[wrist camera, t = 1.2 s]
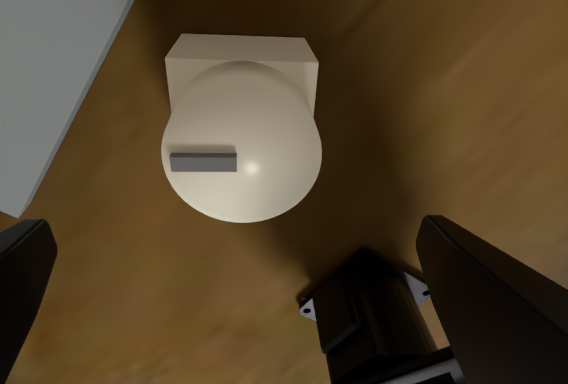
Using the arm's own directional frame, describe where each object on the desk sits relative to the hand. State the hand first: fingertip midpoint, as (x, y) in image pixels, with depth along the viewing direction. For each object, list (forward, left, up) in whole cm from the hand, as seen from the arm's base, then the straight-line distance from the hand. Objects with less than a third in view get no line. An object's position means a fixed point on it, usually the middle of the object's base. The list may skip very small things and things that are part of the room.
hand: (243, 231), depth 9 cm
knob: (0, 0, -9) cm, 9 cm away
